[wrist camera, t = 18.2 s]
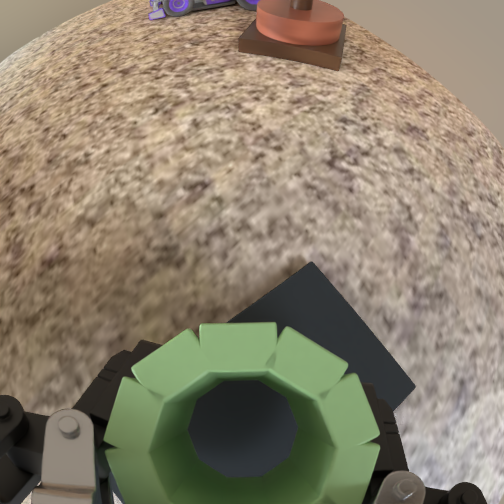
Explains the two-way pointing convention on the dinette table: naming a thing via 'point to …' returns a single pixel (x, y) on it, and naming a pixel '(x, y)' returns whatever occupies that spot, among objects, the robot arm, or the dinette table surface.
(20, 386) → the dinette table surface
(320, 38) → the stand
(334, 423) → the green ring
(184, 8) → the toy race car
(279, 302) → the mat
